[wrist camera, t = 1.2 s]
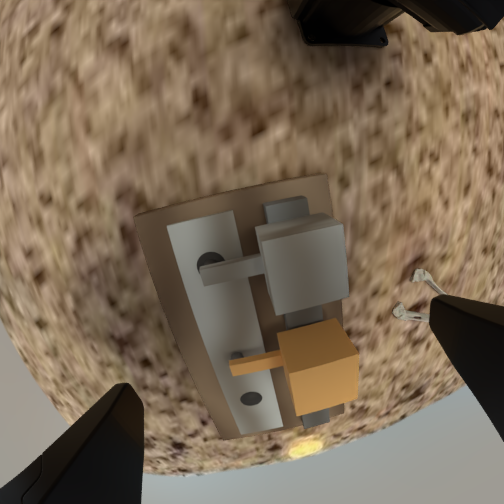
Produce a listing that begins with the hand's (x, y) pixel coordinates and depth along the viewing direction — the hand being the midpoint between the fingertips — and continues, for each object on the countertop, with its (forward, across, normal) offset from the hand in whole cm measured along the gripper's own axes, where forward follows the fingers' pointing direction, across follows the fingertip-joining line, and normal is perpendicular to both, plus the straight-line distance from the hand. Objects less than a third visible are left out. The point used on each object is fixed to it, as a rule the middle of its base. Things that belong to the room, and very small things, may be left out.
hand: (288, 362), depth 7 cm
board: (+12, +1, +8) cm, 14 cm away
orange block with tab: (+10, 0, +8) cm, 13 cm away
